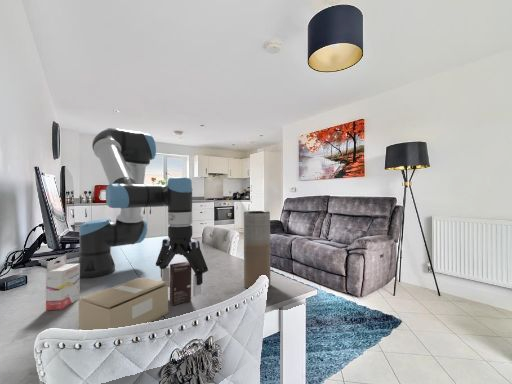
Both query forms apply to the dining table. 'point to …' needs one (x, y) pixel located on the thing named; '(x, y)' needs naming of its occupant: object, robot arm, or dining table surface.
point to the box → (180, 283)
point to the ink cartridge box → (61, 284)
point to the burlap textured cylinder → (256, 246)
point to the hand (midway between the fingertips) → (180, 291)
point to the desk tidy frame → (70, 255)
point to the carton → (125, 311)
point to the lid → (123, 292)
